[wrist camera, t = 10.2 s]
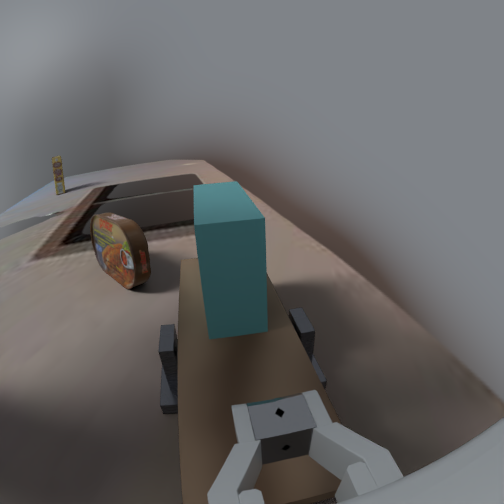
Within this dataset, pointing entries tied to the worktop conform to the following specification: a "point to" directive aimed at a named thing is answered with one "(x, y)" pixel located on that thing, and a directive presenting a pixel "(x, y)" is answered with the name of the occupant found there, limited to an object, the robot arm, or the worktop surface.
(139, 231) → the tin
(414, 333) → the worktop surface
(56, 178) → the candy box
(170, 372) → the beam stand
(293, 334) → the beam
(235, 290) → the block
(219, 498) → the robot arm
